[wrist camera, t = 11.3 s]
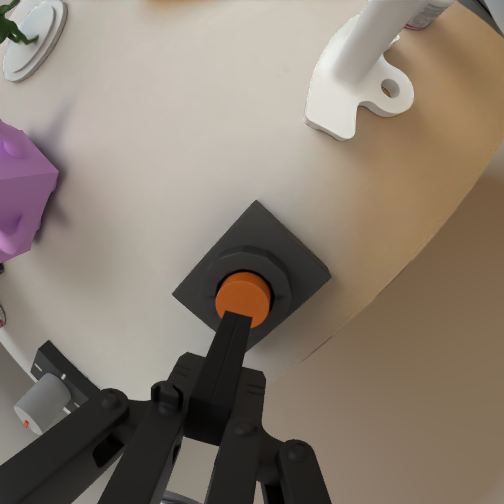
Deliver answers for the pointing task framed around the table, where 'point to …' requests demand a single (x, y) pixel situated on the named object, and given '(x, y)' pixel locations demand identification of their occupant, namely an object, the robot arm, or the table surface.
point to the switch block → (255, 270)
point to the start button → (244, 297)
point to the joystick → (360, 70)
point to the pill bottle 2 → (427, 13)
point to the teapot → (21, 190)
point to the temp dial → (43, 403)
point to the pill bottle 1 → (2, 318)
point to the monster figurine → (30, 37)
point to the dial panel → (63, 375)
